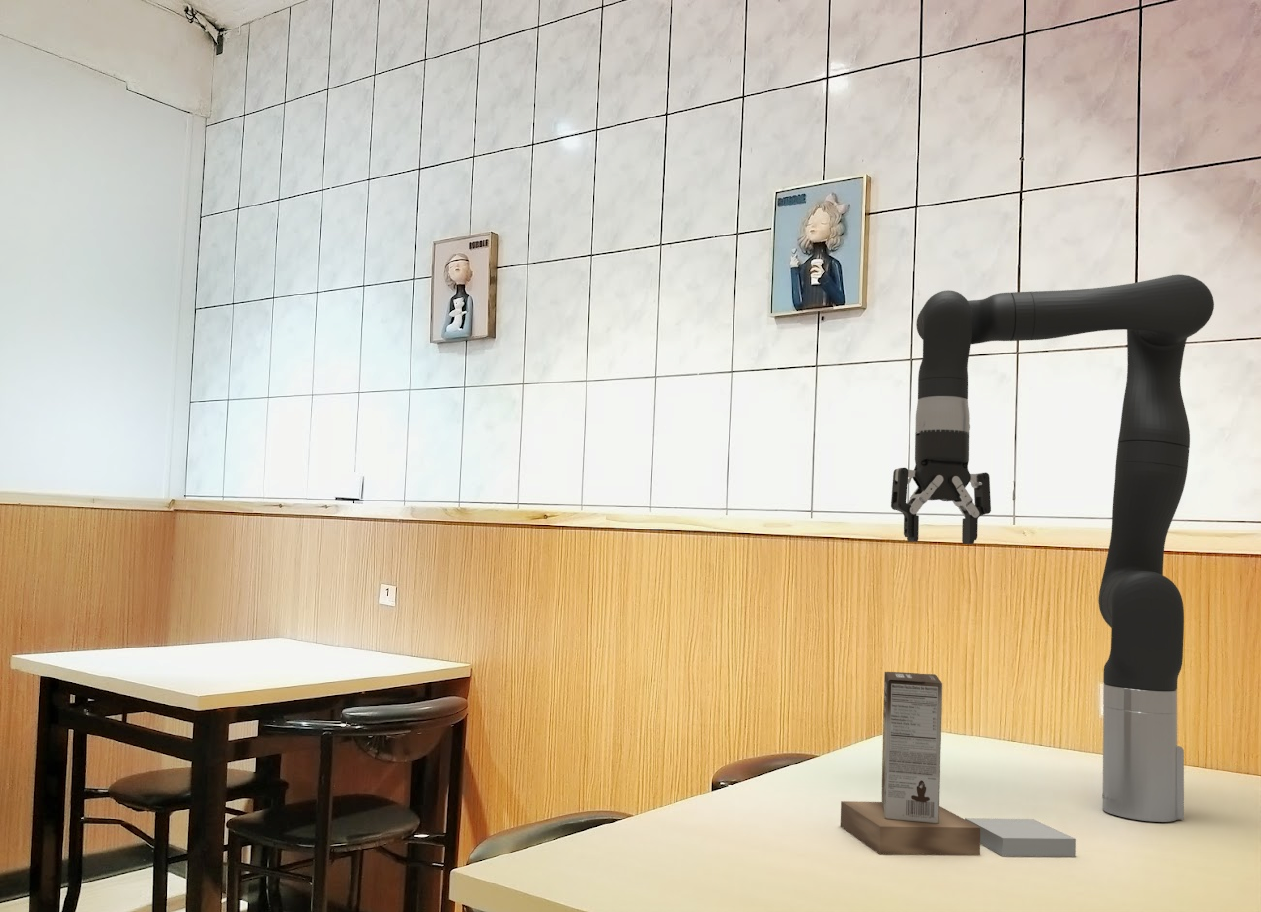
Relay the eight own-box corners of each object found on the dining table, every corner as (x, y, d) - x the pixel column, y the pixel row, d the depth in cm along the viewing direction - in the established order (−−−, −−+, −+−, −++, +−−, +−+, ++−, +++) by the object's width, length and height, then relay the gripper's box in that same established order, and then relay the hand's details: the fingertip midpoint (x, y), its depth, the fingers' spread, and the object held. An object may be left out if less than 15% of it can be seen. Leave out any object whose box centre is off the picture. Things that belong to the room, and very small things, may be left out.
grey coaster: (1033, 835, 129) (1033, 819, 129) (1075, 856, 120) (1075, 838, 121) (964, 835, 128) (965, 818, 128) (1002, 856, 119) (1002, 838, 119)
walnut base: (932, 827, 131) (933, 802, 131) (979, 854, 119) (980, 827, 119) (840, 826, 129) (841, 801, 129) (879, 854, 117) (880, 826, 117)
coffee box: (879, 802, 130) (883, 670, 131) (933, 807, 129) (936, 674, 130) (883, 819, 121) (887, 677, 122) (941, 824, 120) (944, 681, 121)
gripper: (974, 436, 157) (973, 545, 156) (885, 430, 155) (882, 540, 153) (1001, 431, 150) (999, 545, 148) (907, 424, 148) (905, 540, 146)
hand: (940, 542), depth 151 cm, fingers open, 8 cm apart
